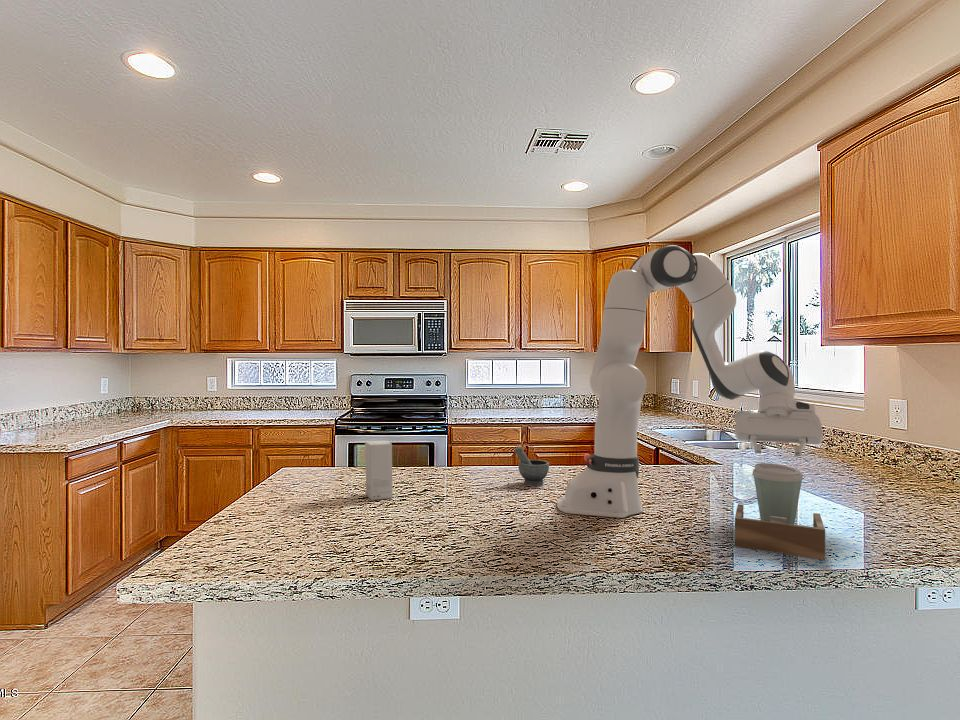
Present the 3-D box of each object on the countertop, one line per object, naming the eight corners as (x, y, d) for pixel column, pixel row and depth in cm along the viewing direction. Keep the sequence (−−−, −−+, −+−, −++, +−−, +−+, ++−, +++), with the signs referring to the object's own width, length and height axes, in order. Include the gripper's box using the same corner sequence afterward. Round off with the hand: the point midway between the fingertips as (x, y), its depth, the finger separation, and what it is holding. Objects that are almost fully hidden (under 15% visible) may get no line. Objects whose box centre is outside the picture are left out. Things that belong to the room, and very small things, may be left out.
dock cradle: (737, 529, 128) (737, 498, 128) (819, 540, 121) (819, 508, 121) (734, 546, 117) (734, 512, 117) (824, 559, 109) (825, 524, 109)
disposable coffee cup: (809, 530, 128) (809, 466, 128) (794, 541, 121) (795, 473, 121) (761, 520, 136) (761, 460, 136) (744, 530, 128) (745, 466, 128)
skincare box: (392, 498, 154) (393, 443, 154) (369, 501, 152) (369, 444, 151) (386, 492, 162) (387, 439, 162) (364, 494, 159) (364, 440, 159)
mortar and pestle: (546, 480, 179) (547, 444, 179) (551, 487, 169) (552, 448, 169) (512, 480, 178) (512, 444, 178) (515, 487, 169) (515, 448, 169)
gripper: (734, 403, 151) (732, 443, 142) (821, 405, 141) (825, 448, 132) (735, 417, 155) (733, 457, 146) (820, 420, 145) (823, 463, 136)
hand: (777, 453), depth 139 cm, fingers open, 8 cm apart
